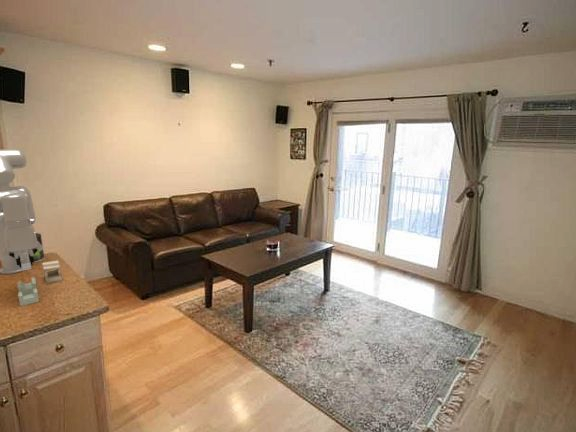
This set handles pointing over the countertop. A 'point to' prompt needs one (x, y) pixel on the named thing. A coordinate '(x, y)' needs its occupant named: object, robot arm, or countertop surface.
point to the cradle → (27, 293)
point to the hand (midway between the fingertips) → (26, 265)
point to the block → (52, 275)
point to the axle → (25, 260)
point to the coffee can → (40, 253)
